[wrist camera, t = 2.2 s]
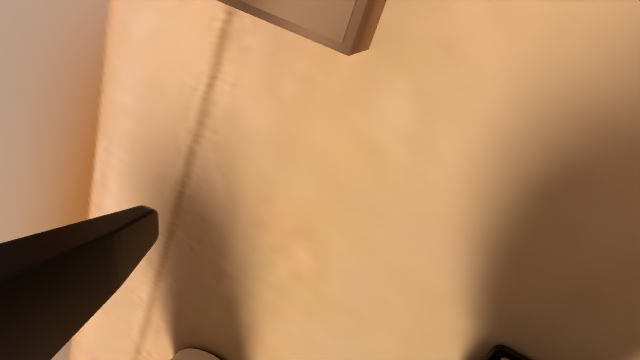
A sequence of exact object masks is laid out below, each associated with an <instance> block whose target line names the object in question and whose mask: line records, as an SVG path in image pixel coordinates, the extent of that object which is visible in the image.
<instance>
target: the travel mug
mask: <svg viewBox="0 0 640 360" xmlns="http://www.w3.org/2000/svg"><path fill="white" fill-rule="evenodd" d="M171 360H220V359H219V358H217V357H216V356H214V355H212V354H210V353H207V352H205V351H202V350H199V349H192V348H188V349H183V350H181V351H179V352H178V353H177V354H176V355H175V356H174V357H173V358H172V359H171Z"/></svg>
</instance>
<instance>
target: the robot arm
mask: <svg viewBox="0 0 640 360" xmlns="http://www.w3.org/2000/svg"><path fill="white" fill-rule="evenodd" d="M158 235H159V225H158V213H157V211H156V210H154V209H152V208H150V207H147V206H144V205H141V206H137V207H133V208H129V209H126V210H122V211H118V212H115V213H111V214H107V215H103V216H100V217H96V218H92V219H89V220H85V221H81V222H78V223H74V224H70V225H67V226H63V227H59V228H56V229H52V230H48V231H44V232H41V233H37V234H33V235H30V236H26V237H22V238H18V239H15V240H11V241H7V242H3V243H0V360H51V359H52V358H53V357H54V356H55V355H56V353H57V352H59V351H60V350H61V348H62V347H63V346H64V345H65V344H66V343H67V342H68V341H69V340H70V339H71V338H72V337H73V336H74V335H75V334H76V333H77V332H78V331H79V330H80V329H81V328H82V327H83V326H84V324H85V323H86V322H87V321H88V320H89V319H90V318H91V317H92V316H93V315H94V314H95V313H96V312H97V311H98V310H99V309H100V308H101V307H102V306H103V305H104V304H105V303H106V302H107V301H108V299H109V298H110V297H111V296H112V295H113V294H114V293H115V292H116V291H117V290H118V289H119V288H120V287H121V285H122V284H123V283H124V282H125V281H126V279H127V278H128V277H129V275H130V274H131V273H132V272H133V270H134V269H135V268H136V266H137V265H138V264H139V263H140V261H141V260H142V259H143V258H144V256H145V255H146V254H147V252H148V251H149V250H150V249H151V247H152V246H153V245H154V243H155V242H156V240H157V238H158ZM499 354H504V355H505V356H502V355H499ZM483 360H531V359H529V358H527V357H525V356H523V355H522V354H520V353H518V352H516V351H514V350H512V349H510V348H509V347H507V346H504V345H497V346H495V347H493V349H492V350H491V351H490V352H489V353H488V355H487V356H486V357H485V358H484V359H483Z"/></svg>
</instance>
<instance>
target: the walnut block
mask: <svg viewBox="0 0 640 360" xmlns="http://www.w3.org/2000/svg"><path fill="white" fill-rule="evenodd" d="M217 1H220V2H222V3H224V4H227V5H229V6H232V7H234V8H236V9H239V10H241V11H243V12H246V13H248V14H250V15H253V16H255V17H258V18H260V19H262V20H265V21H267V22H269V23H272V24H274V25H277V26H279V27H281V28H284V29H286V30H288V31H291V32H293V33H295V34H298V35H300V36H303V37H305V38H307V39H310V40H312V41H314V42H317V43H319V44H322V45H324V46H326V47H329V48H331V49H333V50H336V51H338V52H341V53H343V54H345V55H348V56H349V55H353V54H356V53H359V52H362V51H365V50H368V49H369V46H370V44H371V41H372V38H373V35H374V33H375V30H376V27H377V24H378V22H379V19H380V16H381V13H382V11H383V8H384V5H385V2H386V0H217Z"/></svg>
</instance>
